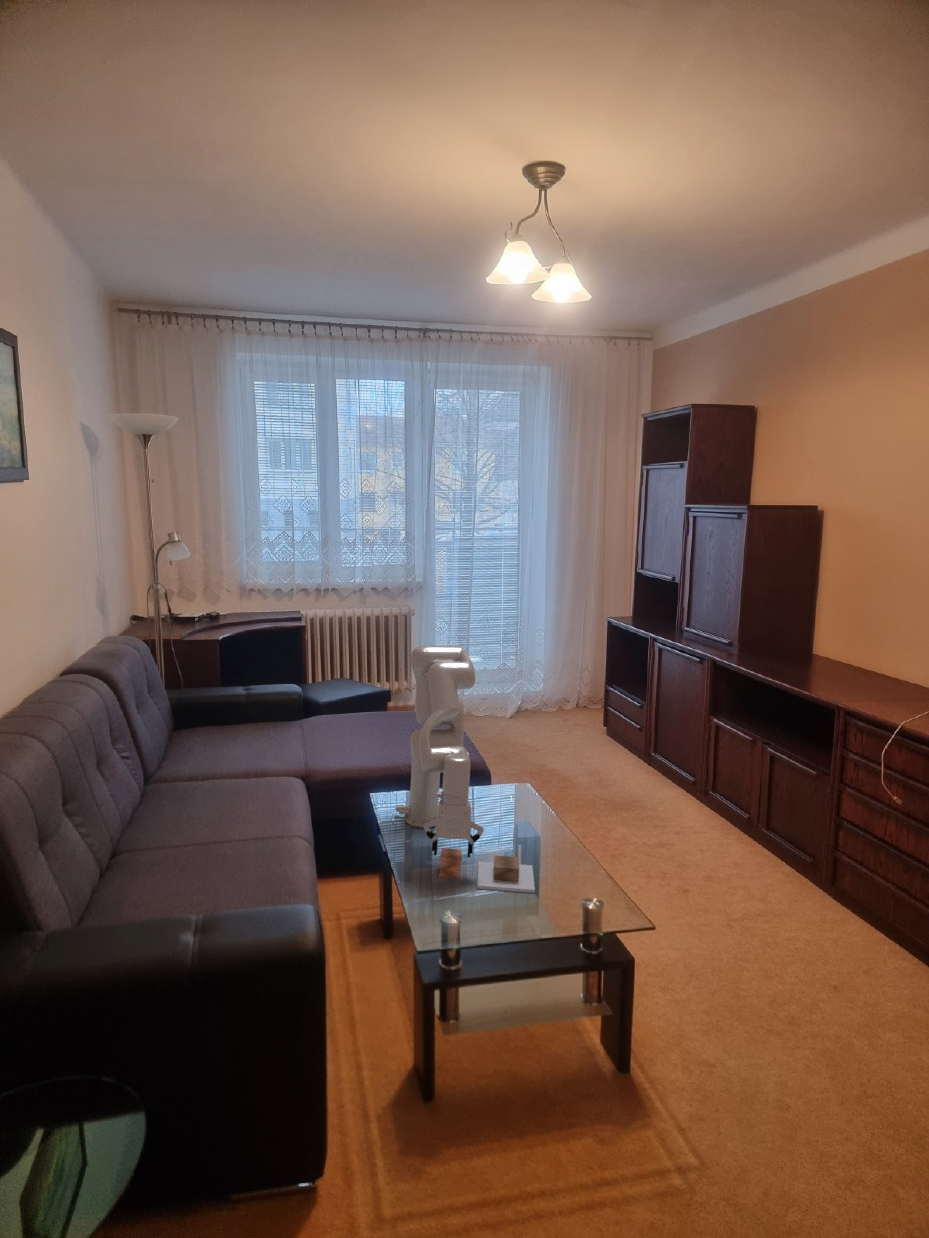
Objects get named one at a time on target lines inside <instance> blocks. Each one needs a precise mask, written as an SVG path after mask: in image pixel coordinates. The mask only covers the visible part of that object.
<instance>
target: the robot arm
mask: <svg viewBox="0 0 929 1238" xmlns="http://www.w3.org/2000/svg"><path fill="white" fill-rule="evenodd" d="M410 663H411V668H412V669H411V670H412V672H413V675H414V679H415V718H416V719H415V720H416V721H417V723H418V724H421V725H422V727H421V728H419V729H416V730H415V731H413V732H412V733H411V735H410V739H409V745H410V754H411V758H410V759H411V769H410V773H411V774H410V793H409V803H408V804H409V805H408V804H406V805H396V809H395V811H396V812H398V814H399V815H404V816H403V817H404V818H405V820H404V822H405V821H406V822H407V823H406V822H405V823H406V824H408V825H409V826H412V827H415V828H421V829H422V828H423V830H424V831H425V834H426V836H427V837H428V838H429V839H430V840H431V852H433V856H437V853H438V841H439V840H438V839H439V838H440V839H453V840H454V839H455V840H467V858H468V859H469V858H471V855H472V854H473V851H474V849H473V848H474V844H475V843H476V842H477V841H478V840H480V838H481V837H482V835H483V833H484V831H485V829H484V827H482V826H481V825H480V824H478V823H476V822H474V821H472V804H471V802H470V801H469V795H470V794H469V792H470V777H471V760H470V754H469V752H468V750H467V748H466V747H465V746H464V731H465V730H464V729H465V728H464V727H465V709H464V708H465V707H464V703H463V702H464V701H463V700H462V699H461V698H460V697H459V693H458V690H469V689H471V688H474V686H475V683H476V672H475V671H476V670H475V667H474V665H473V662H472V660H471V658H470V656H469V655H468V652H467V650H466V649H465V648H464V647H463V646H459V645H421V646H417V647H415V648H414V649H412V652H411V655H410ZM438 725H440V726H441V725H444V726H445V725H448V727H436V726H438ZM441 773H442V774H443V775H442V791H441V792H440V782H441V781H440V780H441ZM439 799H440V800H439ZM433 827H434V828H435V830H434V832H433V830H431V829H430V828H433ZM472 829H473V830H475V831H477V832H476V833H475V834H474V835H473V834H472Z"/></svg>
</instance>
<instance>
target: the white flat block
mask: <svg viewBox="0 0 929 1238" xmlns="http://www.w3.org/2000/svg"><path fill="white" fill-rule="evenodd" d="M493 857H494V858H493V859H494V860H493V862H491V861H477V862H478V863H477V888H476V889H477V890H489V891H499V892H501V891H502V892H503V891H504V892H512V893H513V892H514V893H516V892H517V893H529V894H535V892H536V887H535V877H534V869H533V865H532V864H530V865H529V864H520V862H519V860H520V858H519V856H506V855H494V856H493Z"/></svg>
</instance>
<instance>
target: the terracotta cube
mask: <svg viewBox="0 0 929 1238" xmlns="http://www.w3.org/2000/svg"><path fill="white" fill-rule="evenodd" d="M462 858H463V849H460V848H449V847H447V848H446V847H441V853H440V860H439V861H440V862H439V875H438V877H439V878H445V879H446V878H448V879H449V878H450V879H459V880H460V879H461V872H462V860H463V859H462Z"/></svg>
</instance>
